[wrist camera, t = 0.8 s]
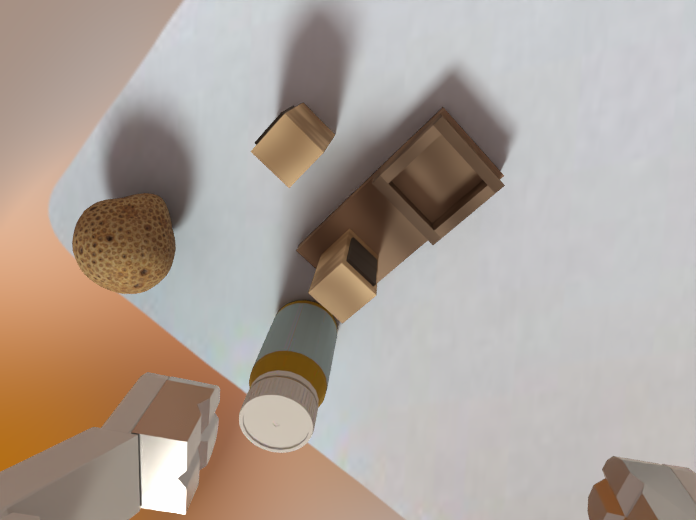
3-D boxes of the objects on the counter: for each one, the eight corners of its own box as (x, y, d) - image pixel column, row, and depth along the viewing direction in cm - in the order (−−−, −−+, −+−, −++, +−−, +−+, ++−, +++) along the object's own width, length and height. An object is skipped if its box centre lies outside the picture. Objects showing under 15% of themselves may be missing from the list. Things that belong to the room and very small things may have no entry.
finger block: (335, 135, 43) (323, 152, 35) (305, 165, 44) (289, 188, 37) (300, 99, 42) (281, 110, 34) (271, 132, 43) (247, 148, 36)
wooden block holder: (443, 107, 41) (456, 122, 32) (500, 171, 43) (528, 202, 34) (298, 244, 47) (278, 288, 39) (354, 295, 49) (346, 347, 41)
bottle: (270, 298, 50) (226, 390, 37) (335, 296, 49) (313, 389, 36) (279, 352, 53) (241, 456, 39) (340, 351, 52) (322, 457, 39)
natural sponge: (117, 262, 50) (57, 309, 41) (100, 181, 46) (29, 212, 37) (200, 266, 49) (157, 314, 40) (189, 184, 46) (139, 216, 37)
